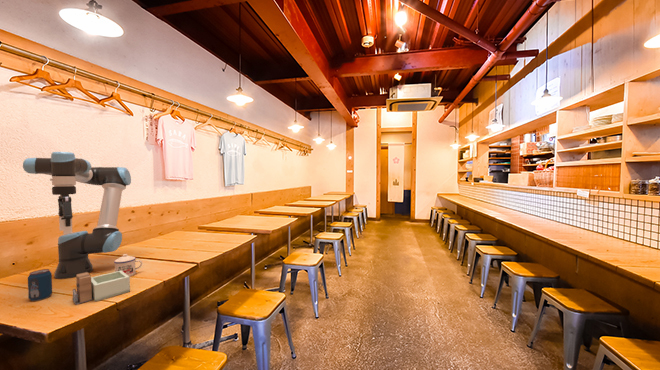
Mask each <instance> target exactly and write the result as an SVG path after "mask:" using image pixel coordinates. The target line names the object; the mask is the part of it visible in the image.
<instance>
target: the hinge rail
mask: <svg viewBox="0 0 660 370" xmlns="http://www.w3.org/2000/svg"><path fill="white" fill-rule="evenodd" d="M71 292H72V301H73V303H74V305H77V306H78V305H80V304H83V303H87V302H91V301H94V298H93V297H92V299H91V300H88V301H84V302H80V301H79V299H78V293H77V288H76V289H75V288H73V289H72V291H71Z"/></svg>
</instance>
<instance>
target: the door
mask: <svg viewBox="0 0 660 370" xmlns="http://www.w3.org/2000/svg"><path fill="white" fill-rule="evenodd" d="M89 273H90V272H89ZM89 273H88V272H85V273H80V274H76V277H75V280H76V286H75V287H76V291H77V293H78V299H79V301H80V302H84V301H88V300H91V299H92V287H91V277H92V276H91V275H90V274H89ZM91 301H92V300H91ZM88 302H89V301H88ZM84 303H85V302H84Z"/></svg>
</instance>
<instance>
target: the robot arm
mask: <svg viewBox="0 0 660 370" xmlns="http://www.w3.org/2000/svg"><path fill="white" fill-rule="evenodd" d="M50 155H51V156H50V157H49V158H48V157H28V158H25V159H24V160H23V162H22V168H23V170H24V171H25V173H27V174H32V175H34V174H35V175H38V174H39V175H41V174H42V175H48V176H51V178H49V181H51V184H52V187H51V194H52V195H53V196H55V195H56V196H58V198H57V203H58V213H57V214H58V221H59V222H58V223H59V227H58V228H59V229H58V230H59V232H60V231H62V233H63V234H61V235H60V236H59V237H58V238H57V248H58V249H57V252H58V254H57V255H58V263H57V267H56V268H55V272H54V275H53V276H54V279H59V280H60V279H61V280H62V279H69V278H76V274H80V273H85V272H88V273H92V272H93V271H94V269H93V268H94V266H93V264H92V262H91V260H90V258H89V255H91V254H102V253H103V254H104V253H105V254H107V253H113V252H115V251H117V250H118V249H119V248H120V246H121V244H122V241H123V233H122V231H120V229H119V228H118V227H117V224H118V218H119V212H120V206H121V202H122V200H121V199H122V196H123V195H122V194H123V191H124V190H126V188H127V186H130V185H131V183H132V176H131V173H130V171H129V169H128V168H127V167H123V166H120V167H119V166H117V167H116V166H115V167H114V166H113V167H111V166H104V167H103V166H97V167H96V166H95V167H94V166H93V167H92V164H91V162H90V161H88V160H87V159H83V158H76V155H75V153H74V152H70V151H53V152H51V154H50ZM77 183H81V184H87V185H91V186H101V187H102V188H103V189H104V190H103V195H102V199H101V205H100V209H99V216H98V220H97V226H96V227H94V228H92V232H91V233H89V231H87V230H80V231H75V232H73V217H74V215H73V210H72V197H71V196H70V195H75V194H77V187H76V184H77Z"/></svg>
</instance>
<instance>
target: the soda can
mask: <svg viewBox="0 0 660 370" xmlns="http://www.w3.org/2000/svg"><path fill="white" fill-rule="evenodd" d="M52 276H53V275H52V272H51V270H50V269H48V268H46V269H45V268H44V269H39V270H34V271H32V272H30V273H29V275H28V276H27V291H28V292H27V293H28V294H27V297H28V299H29V301H31V302H36V301H37V302H38V301H42V300H45V299H47V298H49V297H51V295H52V294H53V278H52Z"/></svg>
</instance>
